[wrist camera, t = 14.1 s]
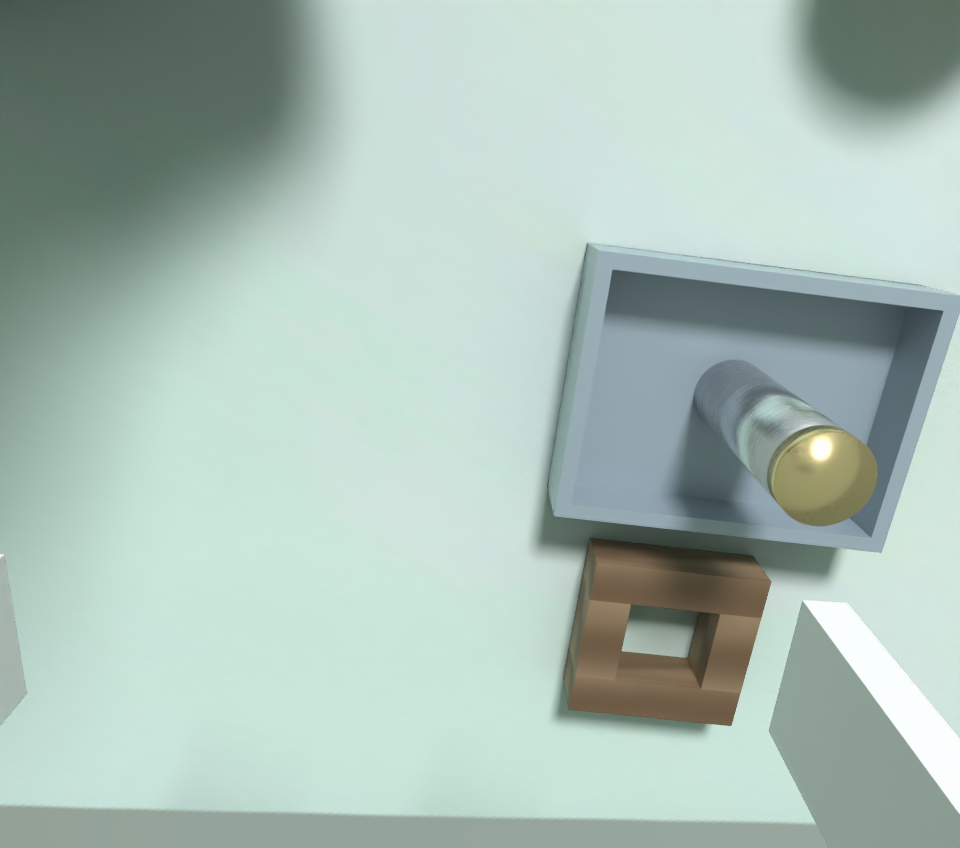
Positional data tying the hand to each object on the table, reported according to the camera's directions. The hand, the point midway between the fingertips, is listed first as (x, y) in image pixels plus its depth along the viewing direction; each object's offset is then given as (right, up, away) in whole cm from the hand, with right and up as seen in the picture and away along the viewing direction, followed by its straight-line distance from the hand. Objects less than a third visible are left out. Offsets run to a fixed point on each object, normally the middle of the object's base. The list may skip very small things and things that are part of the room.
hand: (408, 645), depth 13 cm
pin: (+15, +5, +29) cm, 33 cm away
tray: (+15, +6, +30) cm, 34 cm away
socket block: (+12, -8, +34) cm, 37 cm away
